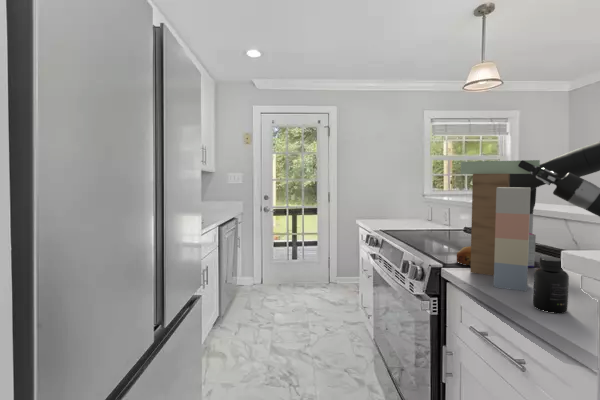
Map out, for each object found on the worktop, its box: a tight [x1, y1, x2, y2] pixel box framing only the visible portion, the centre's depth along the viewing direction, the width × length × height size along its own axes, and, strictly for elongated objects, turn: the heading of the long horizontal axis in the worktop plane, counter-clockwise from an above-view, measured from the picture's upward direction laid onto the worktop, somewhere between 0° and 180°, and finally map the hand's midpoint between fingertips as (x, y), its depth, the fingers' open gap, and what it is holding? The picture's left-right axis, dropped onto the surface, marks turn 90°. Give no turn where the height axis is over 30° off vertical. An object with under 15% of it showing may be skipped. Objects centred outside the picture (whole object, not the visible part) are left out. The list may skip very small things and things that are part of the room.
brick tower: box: [493, 187, 531, 292], centre depth 108 cm, size 8×8×28 cm
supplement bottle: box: [532, 256, 570, 314], centre depth 89 cm, size 7×7×12 cm
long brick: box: [460, 159, 541, 175], centre depth 121 cm, size 4×22×4 cm, turn 58°
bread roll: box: [456, 245, 471, 267], centre depth 137 cm, size 10×10×8 cm
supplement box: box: [528, 233, 537, 269], centre depth 133 cm, size 6×6×12 cm
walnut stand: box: [469, 174, 510, 276], centre depth 123 cm, size 8×10×32 cm
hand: (520, 163), depth 118 cm, fingers open, 6 cm apart
